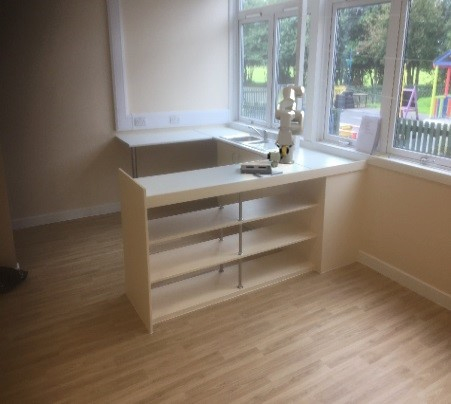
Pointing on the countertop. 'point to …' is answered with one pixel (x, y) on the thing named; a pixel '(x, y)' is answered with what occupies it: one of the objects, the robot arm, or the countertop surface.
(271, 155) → the pneumatic valve
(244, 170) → the jig
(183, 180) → the countertop surface
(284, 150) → the bushing
